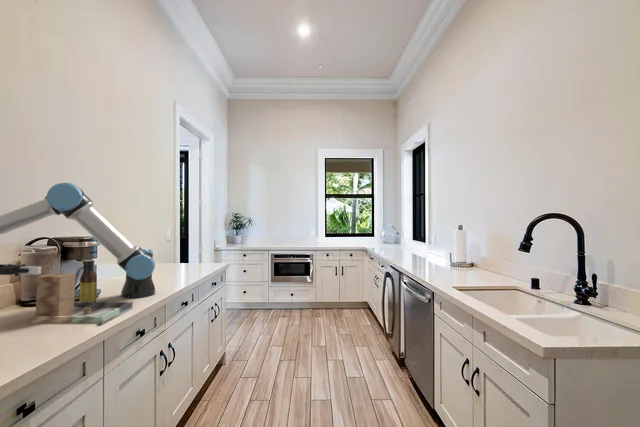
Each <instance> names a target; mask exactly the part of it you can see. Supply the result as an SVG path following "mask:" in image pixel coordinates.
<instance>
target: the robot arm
mask: <svg viewBox="0 0 640 427" xmlns="http://www.w3.org/2000/svg"><path fill="white" fill-rule="evenodd" d="M53 215H54V216H55V215H56V216H60V215H63V217H65V218H66V219H67V220H73V221H75V222H76V223H78V225H79V226H81V227H82V228H83V229H84V230H85V231H86V232H87V233H89V234H90V235H91V236H92V238H94V239H95V240H96V241H97V242H98V243H99V244H100V245H101V246H102V247H103V248H105V249H106V250H107V251H108V252H110V253H111V255H112V256H114V257H115V259H116V264H117V265H118V266H119V267H120V268H121V269H122V270H123V271H124V272H125V281H124V284H123V286H122V288H121V292H120V297H122V298H126V299H136V298H137V299H138V298H145V297H151V296H153V295H156V288H155V287H156V286H155V284H154V282H153V273H154V271H155V267H156V264H155V260H154V259H153V256H154V252H153V250H152V249H151V248H149V249H147V248H145V249H144V248H142V247H141V246H139V245H134V244H133V243H131V242H130V241H129V239H128V238H126V237H125V236H124V235H123V234H122V233H121V232H120V231H118V229H117V228H115V227H114V226H113V224H111V222H109V221H108V220H107V219H106V218H105V217H104V216H103V215H102V214H101V213H100V212H99V211H98V210H97V209H95V208H94V201H93V200H91V198H90V197H89V196H88V195H87V194H85V193H84V191H83V189H82V188H80V187H78V186H77V185H75V184H73V183H71V182H61V183H56V184H54V185H53V186H51V187H50V188H49V189H48V191H47V193H46V196H44V198H43V199H42V200H38V201H37V202H34V203H31V204H28V205H26V206H23V207H20V208H18V209H14V210H12V211H10V212H6V213H3V214H1V215H0V234H2V235H4V234H7V233H10V232H12V231H15V230H17V229H20V228H22V227H25V226H28V225H30V224H33V223H35V222H38V221H41V220H43V219H45V218H48V217H51V216H53ZM41 274H42V266H31V265H29V266H28V265H26V264H25V263H24V264H10V263H7V264H5V263H4V264H3V263H1V264H0V276H12V275H14V277H18V276H19V275H41Z"/></svg>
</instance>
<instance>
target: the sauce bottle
mask: <svg viewBox="0 0 640 427" xmlns="http://www.w3.org/2000/svg"><path fill="white" fill-rule="evenodd" d="M82 262H83V263H82V264H83V270H82V274H81V275H80V278H79V301H78V302H97V300H98V298H97V297H98V296H97V295H98V293H97V292H98V290H97V289H98V279H97V278H98V275H97V273H96V271H95V268H94V267H95V259H86V260H82Z"/></svg>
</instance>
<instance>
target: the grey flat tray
mask: <svg viewBox="0 0 640 427" xmlns="http://www.w3.org/2000/svg"><path fill="white" fill-rule="evenodd" d="M115 309H119V314H117V315H115V316H113V317H112V318H110V319H108V320H106V321H104V316H102V315H104V314H106V313H108V312H111V311H113V310H115ZM131 310H133V302H132V301H96V302H79V301H74V314H73V315H71V316H36V315H31V316H29V323H32V324H33V323H37V324H38V323H42V324H43V323H45V324H46V323H50V324H51V323H52V324H54V323H67V324H69V323H70V324H71V323H73V324H75V323H77V324H78V323H80V324H81V323H83V324H85V323H87V324H89V323H91V324H95V323H96V326H103V325H105V324H107V323H109V322H111V321H112V320H115V319H117V318H119V317H120V316H122V315H124V314H126V313H128V312H130V311H131Z"/></svg>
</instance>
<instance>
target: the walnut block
mask: <svg viewBox="0 0 640 427" xmlns="http://www.w3.org/2000/svg"><path fill="white" fill-rule="evenodd" d="M75 295H76V272H75V273H74V272H73V273H69V272H64V273H62V272H53V273H49V274H44V275H39V276H37V279H36V296H35V297H36V299H35V301H36V303H35V316H71V315H73V314H74V302H76V299H75V298H76V296H75Z"/></svg>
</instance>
